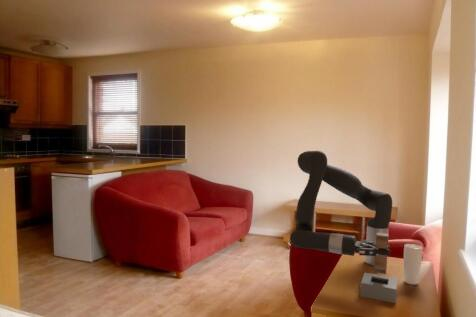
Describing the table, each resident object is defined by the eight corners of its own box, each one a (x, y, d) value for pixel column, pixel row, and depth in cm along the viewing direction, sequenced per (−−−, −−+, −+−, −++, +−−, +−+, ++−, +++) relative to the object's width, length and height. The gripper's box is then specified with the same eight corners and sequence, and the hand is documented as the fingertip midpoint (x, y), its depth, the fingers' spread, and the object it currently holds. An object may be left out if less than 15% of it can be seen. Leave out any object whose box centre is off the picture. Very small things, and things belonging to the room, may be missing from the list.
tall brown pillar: (375, 268, 146) (377, 232, 145) (386, 270, 144) (388, 234, 143) (374, 272, 142) (376, 235, 141) (385, 274, 140) (388, 236, 139)
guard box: (363, 284, 151) (364, 272, 151) (396, 290, 147) (397, 278, 146) (360, 296, 140) (360, 282, 140) (395, 303, 136) (396, 289, 135)
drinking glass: (419, 287, 151) (421, 249, 150) (400, 283, 154) (402, 246, 153) (421, 281, 157) (423, 245, 156) (403, 278, 160) (405, 242, 159)
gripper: (339, 239, 141) (389, 246, 135) (345, 230, 154) (391, 236, 147) (338, 259, 142) (388, 266, 135) (344, 248, 155) (390, 255, 148)
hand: (389, 250), depth 141 cm, fingers closed on tall brown pillar, 4 cm apart
